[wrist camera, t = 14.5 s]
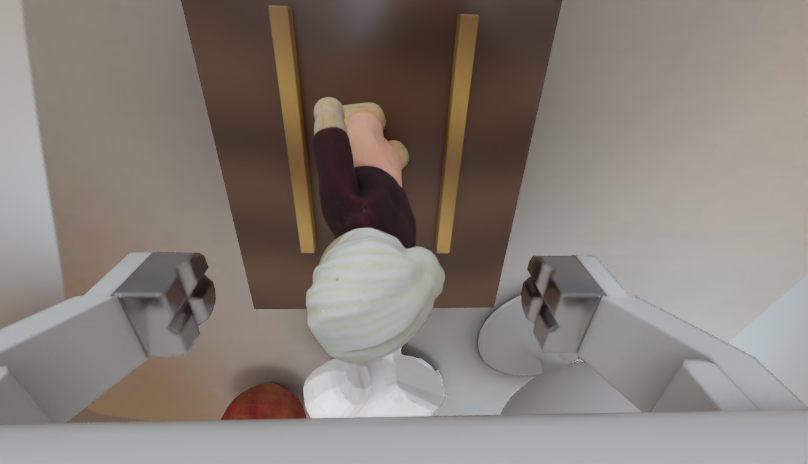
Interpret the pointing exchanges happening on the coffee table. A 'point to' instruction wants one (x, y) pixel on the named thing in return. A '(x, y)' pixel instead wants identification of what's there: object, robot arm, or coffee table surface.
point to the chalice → (543, 370)
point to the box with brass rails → (405, 122)
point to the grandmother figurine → (366, 239)
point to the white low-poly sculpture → (374, 388)
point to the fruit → (265, 404)
